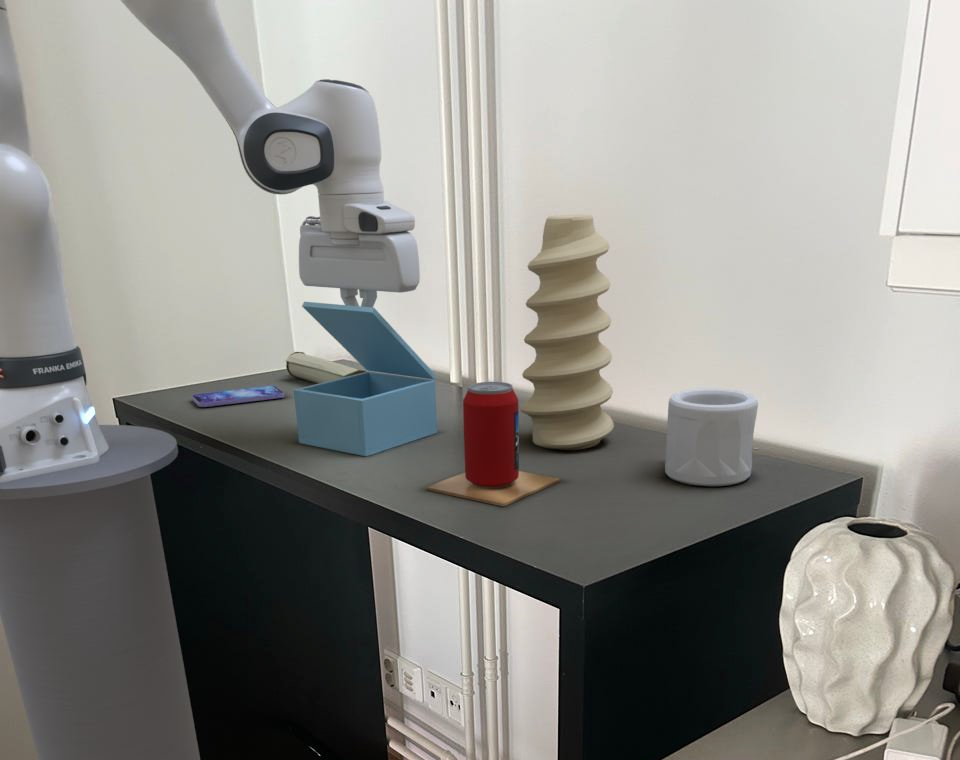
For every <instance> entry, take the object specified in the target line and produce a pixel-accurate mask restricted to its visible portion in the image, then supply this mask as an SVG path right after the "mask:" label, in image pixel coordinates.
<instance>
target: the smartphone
mask: <svg viewBox="0 0 960 760" xmlns="http://www.w3.org/2000/svg"><path fill="white" fill-rule="evenodd" d="M284 397H285V392H284V391H283V390H282V389H280V388H279V387H277V386H276V385H274V384H273V385H270V384H269V385H261V386H253V387H244V388H233V389H227V390H218V391H210V392H200V393H194V394H192V395H191V400H192V401H193V402H194V403H195V405H197V406H198V407H200V408H208V407H216V406H224V405H232V404H233V405H234V404H240V403H241V404H242V403H250V402H251V403H252V402H257V401H258V402H259V401H266V400H274V399H275V400H276V399H282V398H284Z"/></svg>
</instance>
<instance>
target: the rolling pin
mask: <svg viewBox="0 0 960 760" xmlns="http://www.w3.org/2000/svg"><path fill="white" fill-rule="evenodd" d="M285 362H286V364H285V365H286V367H285V368H286V371H287V372H288V374H289V375H290V376H291V377H293V378H294V379H302V380H305V381H309V382H312V383H315V384H319V383H323V382H327V381H331V380H335V379H340V378H344V377H348V376H352V375H356V374H360V373H364V372H367V370H362V369H357V368H354V367H352V366H348V365H345V364H341V363H338V362H335V361H332V360H328V359H325V358H322V357H317V356H314V355H309V354H306V353H305V352H303V351H293V353H290V354H289V356H288V357H287V358H286V359H285Z"/></svg>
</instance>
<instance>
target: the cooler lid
mask: <svg viewBox="0 0 960 760" xmlns="http://www.w3.org/2000/svg"><path fill="white" fill-rule="evenodd" d="M301 307H302V308H303V309H304V310H305V311H306V312H307V313H308V314H309V315H310V316H311V317H312V318H313V319H314V320H315V321H316V322H317V324H319V325H320V326H321V327H322V328H323V329H324V330H325V331H326V332H327V333H328V334H329V335H330V336H331V337H332V338H334V340H335V341H337V343H338V344H340V345H341V347H343V349H344V350H346V352H347V353H348V354H349V355H350V356H351V357H352V358H354V360H356V361H357V362H358V364H360V366H362V367H363V368H364V369H365V371H366V372H375V373H383V374H390V375H398V376H405V377H412V378H420V379H427V380H435V378H436V375H437V374H436V373H435V372H434V371H433V370H432V369H431V368H430V367H429V366H428V365H427V363H425V362H424V360H423V359H422V358H421V357H420V356H419V355H418V354H417V353H416V352H415V350H413V348H412V347H411V346H410V345H409V344H408V342H406V341H405V339H404V338H403V337H402V336H401V335H400V334H399V333H398V332H397V330H395V328H394V327H393V326H391V324H390V323H389V322H388V320H386V318H384V316H382V314H381V313H380V312H379V311H378V310H377V309H376V308H375V307H374V306H373V307H361V305H359V306H349V305H345V304H335V303H325V302H314V301H313V302H312V301H303V303H302V305H301Z"/></svg>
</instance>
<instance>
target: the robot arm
mask: <svg viewBox="0 0 960 760" xmlns="http://www.w3.org/2000/svg"><path fill="white" fill-rule="evenodd" d="M120 1H121V2H122V4H123V6H125V7H126V9H127V10H128V11H129V12H130V13H131V14H132V15H133V16H134V17H135V18H136V20H137V21H138V22H139V23H141V25H142V26H144V27H145V29H146V30H148V31H149V32H150V33H151V34H152V35H153V36H154V37H155V38H156V39H158V41H160V42H161V43H162V44H163V45H164V46H166V47H167V48H168V49H169V50H170V51H171V52H172V53H173V54H174V55H176V57H178V58H179V59H180V61H182V62H183V64H184V65H185V66H186V67H187V68H188V69H189V70H190V71H191V73H192V74H193V75H194V76H195V78H196V79H197V81H198V82H199V84H200V85H201V86H202V88H203V90H204V91H205V92H206V94H207V95H208V97H209V98H210V99H211V101H212V102H213V104H214V105H215V107H216V108H217V109H218V111H219V113H220V114H221V116H222V117H223V119H224V120H225V121H226V122H227V124H228V126H229V127H230V129H231V131H232V133H233V135H234V137H235V140H236V143H237V148H238V152H239V153H238V154H239V157H240V161H241V164H242V167H243V169H244V171H245V173H246V175H247V177H248V178H249V179H250V181H251V182H253V183H254V185H256V186H257V187H258V188H259V189H261V190H263V191H265V192H266V193H269V194H273V195H288V194H292V193H294V192H296V191H298V190H300V189H302V188H304V187H308V186H310V185H312V186H314V187H316V190H317V197H318V209H319V216H313V215H310V216H307V217H306V218H305V220H303V221H302V223H301V225H300V226H299V235H300V237H299V242H298V275H299V279H300V281H301V282H302V284H303V285H304V286H305V287H317V288H329V289H330V288H332V289H339V293H340V298H341V300H342V303H343V305H349V306H361V307H373V308H374V306H375V304H376V301H377V299H378V292H385V293H386V292H387V293H408V292H414V291H415V290H416V289H417V287H418V285H419V284H420V281H421V274H420V270H421V269H420V259H419V257H420V256H419V249H418V243H417V240H416V238H415V236H414V235H413V233H412V232H410V231H413V230H414V229H415V227H416V219H415V215H414V214H413V213H411V212H410V211H408V210H405V209H403V208H401V207H398V206H396V205H395V204H392V202H389V201H387V200H385V193H384V192H385V191H384V186H383V182H382V180H381V173H380V168H381V161H382V145H381V144H382V143H381V133H380V132H381V131H380V125H379V124H380V123H379V118H378V112H377V111H378V110H377V107H376V104H375V101H374V98H373V96H372V95H371V93H370V91H368V90H367V89H366V88H364V87H363V86H361V85H359V84H357V83H353V82H349V81H344V80H339V79H326V78H325V79H319V80H316V81H315V82H314V83H313V84H312V85H311V86H310V87H309V88H308V89H307V90H305V91H304V92H302V93H301V94H300V95H298V96H297V97H295V98H293V99H292V100H290V101H288V102H286V103H284V104H283V105H280V106H278V107H276V106H275V105H274V103H272V102H271V100H269V98H268V97H267V96H266V94H265V93H264V92H263V90H262V88H261V87H260V85H259V84H258V82H257V81H256V79H255V78H254V76H253V75H252V73H251V72H250V70H249V69H248V67H247V66H246V63H244V62H243V60H242V58H241V57H240V56H239V55H240V54H238V52H237V51H236V48H235V47H234V46H233V44H232V42H231V41H230V38H229V36H228V35H227V32H226V30H225V28H224V25H223V22H222V20H221V16H220V13H219V9H218V6H217V3H216V0H120ZM16 50H17V49H16V46H15V41H14V35H13V32H12V27H11V23H10V18H9V13H8V9H7V4H6V1H5V0H0V483H3V482H8V481H13V480H18V479H23V478H27V477H32V476H37V475H42V474H47V473H52V472H56V471H61V470H66V469H71V468H76V467H81V466H85V465H90V464H95V463H97V462H99V461H100V456H101V455H102V454H104V453H105V452H107V451H108V449H109V445H108V443H107V442H106V440H105V438H104V436H103V434H102V432H101V429H100V427H99V425H100V424H99V422H98V420H97V418H96V417H97V416H96V411H95V407H94V406H93V405H92V403H91V400H90V399H91V398H90V396H89V393H88V389H87V373H86V368H85V364H84V359H83V354H82V350H81V348H80V347H79V346H78V345H77V342H76V336H75V330H74V326H73V320H72V316H71V311H70V306H69V300H68V295H67V290H66V283H65V278H64V277H65V276H64V269H63V260H62V253H61V252H62V251H61V245H60V238H59V231H58V225H57V218H56V211H55V206H54V200H53V193H52V190H51V185H50V182H49V180H48V178H47V176H46V174H45V172H44V171H43V169H42V168H41V166H40V165H39V164H38V163H37V162H36V159H35V154H34V150H33V143H32V137H31V130H30V125H29V119H28V111H27V105H26V97H25V88H24V83H23V78H22V74H21V69H20V64H19V60H18V54H17V51H16ZM358 295H359V298H360V299H361V304H360V303H359V302H358V300H357V297H356V296H358Z"/></svg>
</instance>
